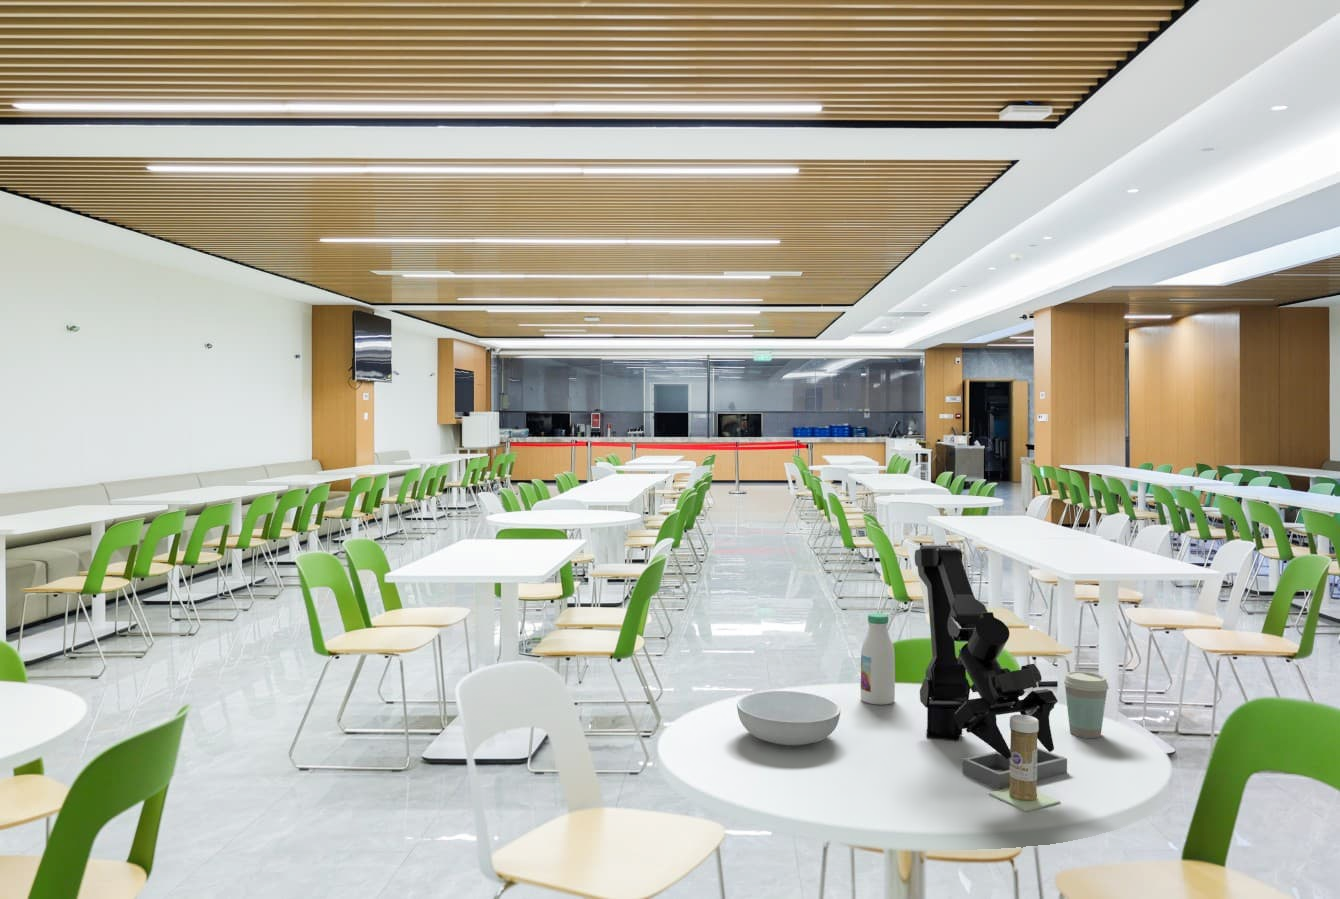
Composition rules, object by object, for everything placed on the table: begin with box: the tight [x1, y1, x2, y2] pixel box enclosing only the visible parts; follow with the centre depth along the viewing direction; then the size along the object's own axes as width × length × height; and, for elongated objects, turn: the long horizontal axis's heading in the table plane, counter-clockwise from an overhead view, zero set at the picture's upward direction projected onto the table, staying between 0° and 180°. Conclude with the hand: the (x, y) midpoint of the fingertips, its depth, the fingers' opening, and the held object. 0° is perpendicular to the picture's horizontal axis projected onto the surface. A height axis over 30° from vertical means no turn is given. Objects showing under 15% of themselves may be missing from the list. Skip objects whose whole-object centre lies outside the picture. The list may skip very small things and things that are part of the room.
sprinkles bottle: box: [1009, 714, 1039, 801], centre depth 154 cm, size 5×5×14 cm
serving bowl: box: [736, 690, 841, 746], centre depth 184 cm, size 21×21×7 cm
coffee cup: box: [1063, 671, 1110, 739], centre depth 187 cm, size 8×8×12 cm
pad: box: [988, 787, 1061, 813], centre depth 154 cm, size 8×8×1 cm
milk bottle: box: [860, 613, 896, 706], centre depth 210 cm, size 8×8×20 cm
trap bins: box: [961, 746, 1068, 790], centre depth 166 cm, size 17×9×2 cm, turn 117°
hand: (1030, 754), depth 153 cm, fingers open, 9 cm apart
